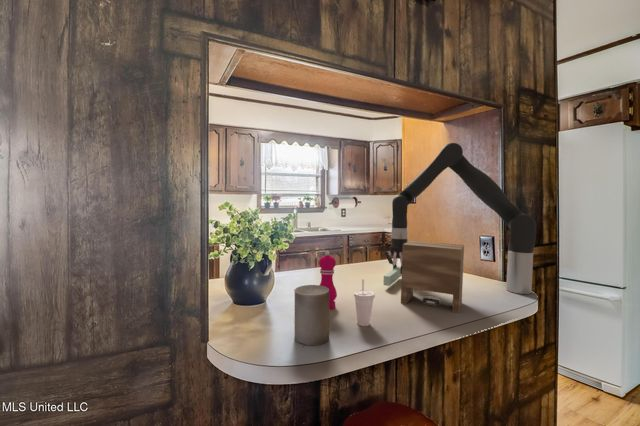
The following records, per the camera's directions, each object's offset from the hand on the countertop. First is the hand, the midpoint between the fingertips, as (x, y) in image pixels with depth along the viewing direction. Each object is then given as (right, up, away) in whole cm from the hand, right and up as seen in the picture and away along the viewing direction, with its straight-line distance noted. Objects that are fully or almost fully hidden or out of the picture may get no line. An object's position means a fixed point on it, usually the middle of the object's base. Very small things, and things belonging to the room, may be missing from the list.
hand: (398, 273), depth 157 cm
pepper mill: (-35, -5, -40) cm, 54 cm away
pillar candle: (-40, -6, -66) cm, 77 cm away
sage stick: (-4, -2, -7) cm, 8 cm away
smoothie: (-24, -6, -55) cm, 60 cm away
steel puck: (+4, -5, -34) cm, 34 cm away
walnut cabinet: (+4, -5, -34) cm, 34 cm away
